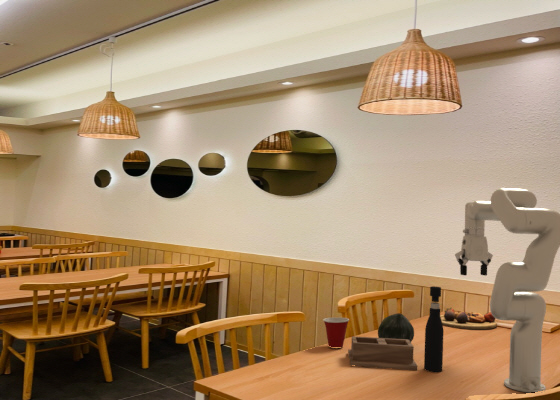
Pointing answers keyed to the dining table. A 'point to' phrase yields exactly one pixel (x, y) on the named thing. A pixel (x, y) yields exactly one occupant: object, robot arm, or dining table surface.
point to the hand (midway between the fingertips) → (473, 275)
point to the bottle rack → (382, 353)
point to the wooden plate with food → (468, 320)
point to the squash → (396, 328)
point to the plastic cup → (336, 331)
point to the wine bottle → (434, 335)
